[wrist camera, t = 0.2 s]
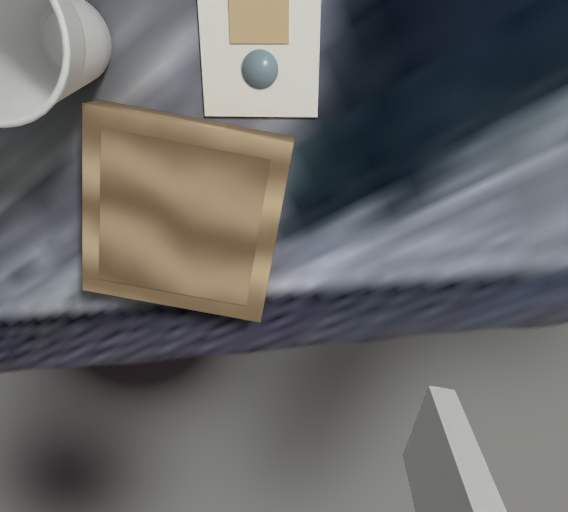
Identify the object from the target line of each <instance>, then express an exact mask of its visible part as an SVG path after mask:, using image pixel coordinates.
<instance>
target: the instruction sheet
mask: <svg viewBox="0 0 568 512" xmlns="http://www.w3.org/2000/svg"><path fill="white" fill-rule="evenodd" d="M197 3H198V18H199V34H200V49H201V65H202V80H203V96H204V111H205V116H222V117H318V85H319V52H320V19H321V0H197Z"/></svg>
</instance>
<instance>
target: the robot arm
mask: <svg viewBox="0 0 568 512" xmlns="http://www.w3.org/2000/svg"><path fill="white" fill-rule="evenodd" d="M403 458H404V462H405V467H406V472H407V476H408V480H409V485H410V489H411V494H412V498H413V502H414V507H415V511H416V512H506V509H505V507H504V505H503V502H502V500H501V497H500V495H499V493H498V491H497V488H496V486H495V483H494V481H493V479H492V476H491V474H490V472H489V469H488V467H487V465H486V462H485V460H484V458H483V455H482V453H481V451H480V448H479V446H478V444H477V441H476V439H475V437H474V434H473V432H472V429H471V427H470V425H469V423H468V420H467V418H466V415H465V413H464V411H463V408H462V406H461V404H460V401H459V399H458V396H457V394H456V392H455V390H452V389H446V388H439V387H434V386H428V389H427V391H426V394H425V397H424V399H423V402H422V405H421V407H420V410H419V413H418V415H417V418H416V421H415V423H414V426H413V429H412V432H411V434H410V437H409V440H408V442H407V445H406V448H405V450H404V453H403Z"/></svg>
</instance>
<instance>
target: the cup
mask: <svg viewBox="0 0 568 512" xmlns="http://www.w3.org/2000/svg"><path fill="white" fill-rule="evenodd" d="M111 50H112V47H111V38H110V33H109V30H108V28H107V25H106V23H105V21H104V19H103V18H102V16H101V15H100V13H99V12H98V11H97V10H96V9H95V8H94V7H93V6H92V5H91V4H89V3H88V2H87V1H85V0H0V128H9V127H18V126H22V125H25V124H28V123H31V122H34V121H35V120H37V119H39V118H40V117H42V116H43V115H45V114H46V113H47V112H48V111H49V110H50V109H51V108H52V107H53V106H54V105H55V104H56V103H57V102H59V101H60V100H62V99H64V98H65V97H67V96H68V95H70V94H72V93H73V92H75V91H77V90H78V89H80V88H82V87H83V86H85V85H87V84H88V83H90V82H92V81H93V80H95V79H96V78H98V77H99V76H100V75H101V74H102V73H103V72H104V71H105V69H106V67H107V66H108V63H109V60H110V57H111Z"/></svg>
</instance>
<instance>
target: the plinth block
mask: <svg viewBox="0 0 568 512" xmlns="http://www.w3.org/2000/svg"><path fill="white" fill-rule="evenodd" d="M294 139H295V137H291V136H286V135H281V134H276V133H270V132H265V131H260V130H255V129H250V128H244V127H239V126H234V125H229V124H223V123H218V122H213V121H208V120H203V119H197V118H192V117H187V116H182V115H177V114H171V113H166V112H161V111H156V110H150V109H145V108H140V107H135V106H130V105H124V104H119V103H114V102H109V101H103V100H95V101H91V102H86V103H82V290H85V291H90V292H96V293H101V294H107V295H112V296H118V297H123V298H129V299H134V300H140V301H145V302H151V303H156V304H162V305H167V306H173V307H178V308H184V309H189V310H195V311H200V312H206V313H211V314H217V315H222V316H228V317H233V318H239V319H244V320H250V321H255V322H261V318H262V312H263V307H264V302H265V296H266V291H267V285H268V280H269V275H270V269H271V264H272V258H273V253H274V247H275V242H276V237H277V231H278V226H279V220H280V215H281V210H282V204H283V199H284V193H285V188H286V183H287V177H288V172H289V166H290V161H291V156H292V150H293V145H294Z"/></svg>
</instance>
